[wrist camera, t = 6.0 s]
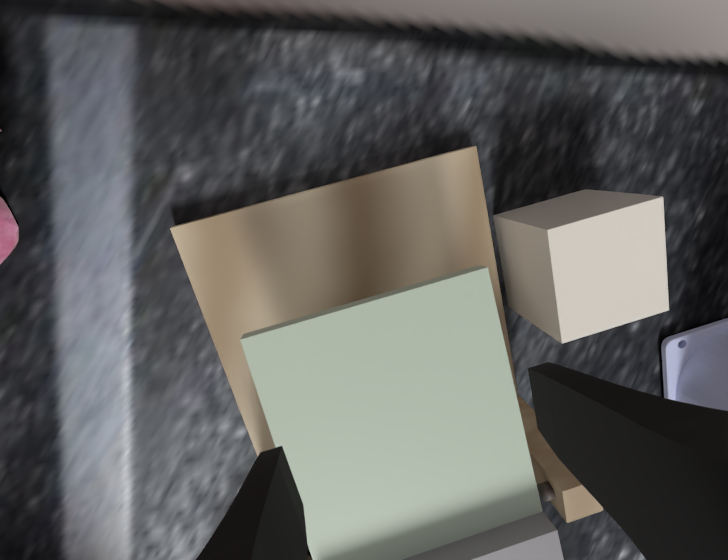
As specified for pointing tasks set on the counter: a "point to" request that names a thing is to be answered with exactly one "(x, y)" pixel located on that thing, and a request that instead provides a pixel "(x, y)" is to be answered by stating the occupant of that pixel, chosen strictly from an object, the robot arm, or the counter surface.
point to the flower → (7, 231)
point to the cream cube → (584, 261)
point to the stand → (351, 272)
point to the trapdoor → (404, 426)
